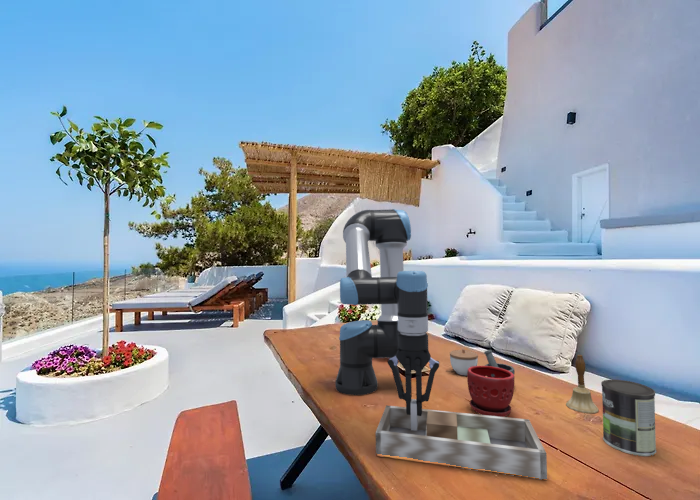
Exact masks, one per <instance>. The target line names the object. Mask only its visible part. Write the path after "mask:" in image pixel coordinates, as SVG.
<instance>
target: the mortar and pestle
mask: <svg viewBox="0 0 700 500" xmlns="http://www.w3.org/2000/svg"><path fill="white" fill-rule="evenodd" d="M483 354H484V356H486V359H487V364H484V366H492V367H498V368H502V369H505V370H508V371H510V372H512V373H513V374H514V375H515V370H516V369H515V368H514V367H513V366H511V365H508V364H505V363H498V362H497V361H496V359H495V357H494V354H493V351H492V349H487V350H485V351H484V352H483ZM491 376H492V377H494V376H495V375H494V374H492V375H491ZM486 377H488V376H486ZM500 378H501V377H500Z"/></svg>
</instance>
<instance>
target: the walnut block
mask: <svg viewBox="0 0 700 500" xmlns="http://www.w3.org/2000/svg"><path fill="white" fill-rule="evenodd" d="M426 425H427V436H431V437H439V438H447V439H456V440H458V437H457V416H456V413H446V412H437V411H428V414H427V423H426Z"/></svg>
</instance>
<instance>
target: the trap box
mask: <svg viewBox="0 0 700 500" xmlns="http://www.w3.org/2000/svg"><path fill="white" fill-rule="evenodd" d="M428 411H437V412H446V413H456V416H457V437H458V440H456V439H447V438H439V437H431V436H427V425H426V423H427V414H428ZM376 453H377V454H382V455H390V456H399V457H407V458H413V459H418V460H423V461H430V462H438V463H446V464H450V465H456V466H461V467H468V468H473V469H485V470H491V471H497V472H504V473H510V474H516V475H522V476H528V477H535V478H539V479H538V480H542V479H547V480H548V463H547V459H548V457H547V452H546V450H545V447H544V446H543V444H542V442H541V440H540V438H539V436H538V435H537V432H536V430H535V429H534V427H533V425H532V423H531V420H530V419H526V418H519V417H518V418H516V417H508V416H504V417H498V416H488V415H481V414H479V413H477V414H476V413H475V414H474V413H466V412H458V411H457V412H455V411H448V410H438V409H437V410H436V409H428V408H427V409H424V408H422V415H421V416H418V428H417V431H415V430H411V415H407V413H406V406H398V405H385V408H384V410H383V413H382V416H381V418H380V420H379V423H378V426H377V428H376V430H375V454H376ZM528 477H527V478H528ZM535 478H534V479H535Z"/></svg>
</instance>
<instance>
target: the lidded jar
mask: <svg viewBox="0 0 700 500" xmlns="http://www.w3.org/2000/svg"><path fill="white" fill-rule="evenodd" d="M478 357H479V354H478V353H477V352H475V351H472V350H466V349H465V348H462V349H455V350H451V351H450V352H449V359H450V362H449V363H450V365H451V367H452V369H453V370H454V372H455V373H456V374H458V375H460V376H467V372H468V368H470V367H472V366H478V364H479V363H478V362H479V361H478V359H479V358H478Z"/></svg>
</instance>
